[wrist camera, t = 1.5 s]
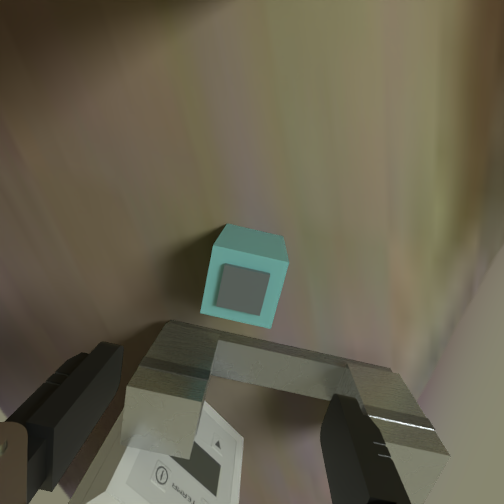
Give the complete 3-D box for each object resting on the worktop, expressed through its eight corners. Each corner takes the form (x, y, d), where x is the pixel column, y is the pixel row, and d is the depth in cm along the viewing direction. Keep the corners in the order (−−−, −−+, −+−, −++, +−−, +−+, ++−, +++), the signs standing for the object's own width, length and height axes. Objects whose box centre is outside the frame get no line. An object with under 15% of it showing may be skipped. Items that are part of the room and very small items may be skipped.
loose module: (227, 223, 26) (211, 246, 18) (283, 236, 26) (289, 264, 19) (216, 275, 27) (198, 315, 20) (269, 287, 27) (270, 331, 20)
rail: (171, 313, 28) (125, 385, 19) (393, 363, 29) (451, 455, 20) (163, 359, 30) (119, 445, 21) (374, 405, 30) (421, 509, 21)
